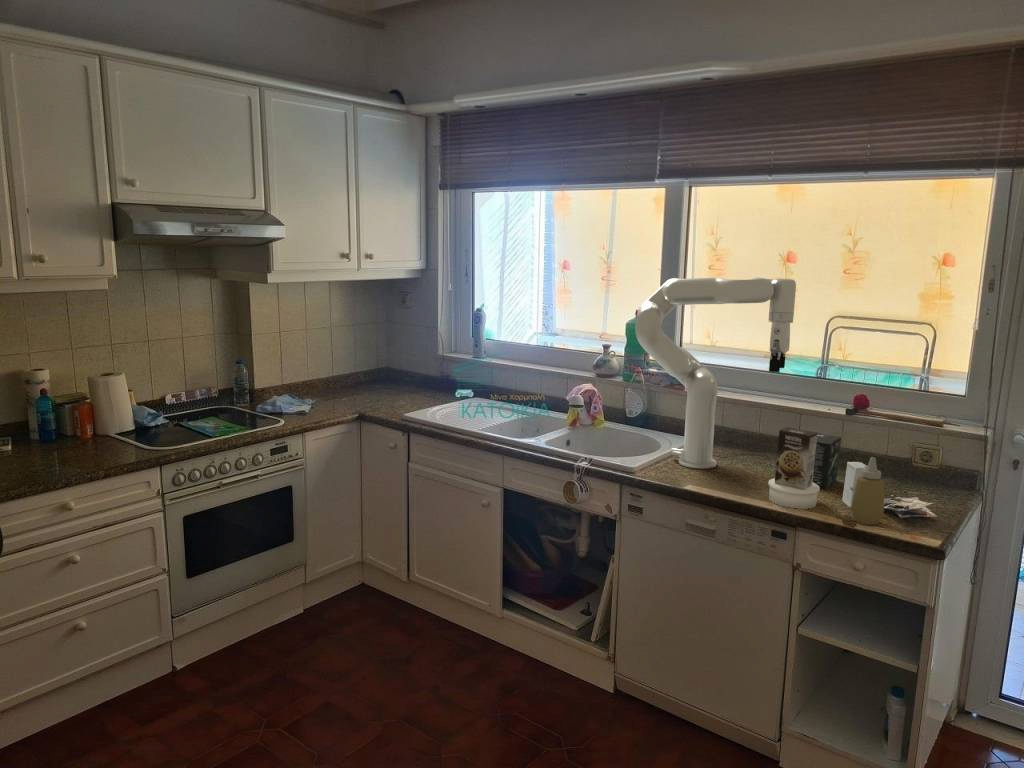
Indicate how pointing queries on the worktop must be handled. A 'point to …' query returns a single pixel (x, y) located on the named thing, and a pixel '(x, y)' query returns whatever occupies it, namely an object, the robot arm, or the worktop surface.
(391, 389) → the worktop surface
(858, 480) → the squeeze bottle
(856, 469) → the skincare box
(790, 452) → the coffee box
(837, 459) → the tampon box
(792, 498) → the podium
